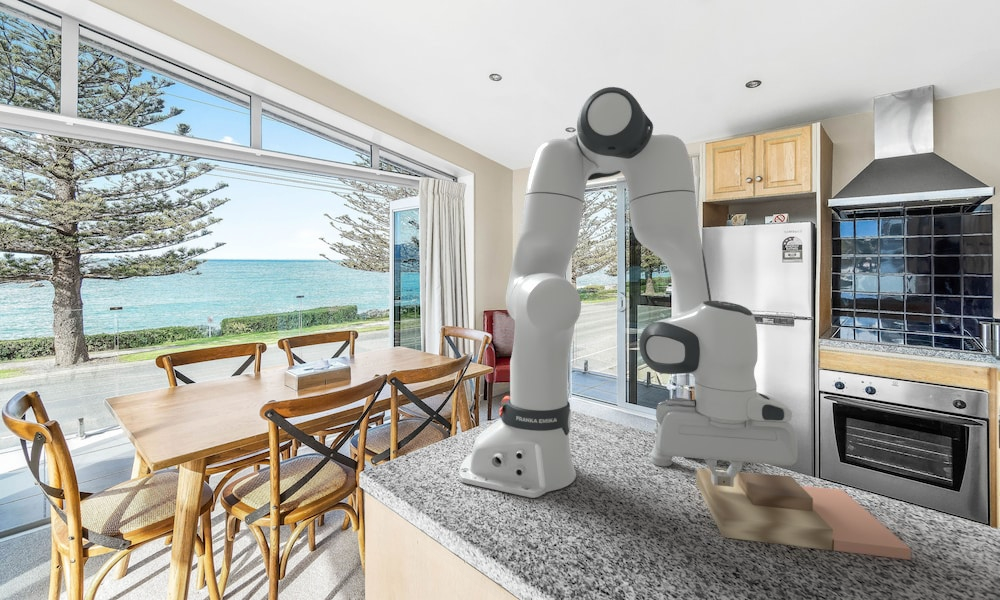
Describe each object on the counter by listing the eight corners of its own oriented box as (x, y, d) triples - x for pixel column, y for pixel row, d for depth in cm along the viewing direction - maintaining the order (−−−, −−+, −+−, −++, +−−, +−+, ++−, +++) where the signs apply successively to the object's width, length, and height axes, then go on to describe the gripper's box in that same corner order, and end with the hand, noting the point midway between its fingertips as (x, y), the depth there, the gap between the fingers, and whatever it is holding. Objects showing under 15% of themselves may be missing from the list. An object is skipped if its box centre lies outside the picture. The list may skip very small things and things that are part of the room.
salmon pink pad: (833, 550, 58) (834, 540, 58) (783, 492, 74) (783, 484, 74) (910, 559, 56) (910, 549, 56) (841, 498, 72) (842, 489, 72)
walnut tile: (753, 505, 64) (753, 492, 64) (738, 483, 71) (738, 471, 71) (812, 511, 63) (812, 498, 63) (790, 488, 70) (791, 476, 69)
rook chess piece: (675, 468, 83) (676, 429, 83) (651, 466, 84) (652, 427, 84) (669, 458, 88) (670, 421, 87) (647, 457, 88) (648, 420, 88)
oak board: (722, 537, 61) (723, 517, 61) (696, 483, 77) (697, 468, 77) (832, 550, 58) (832, 529, 58) (781, 492, 74) (782, 475, 74)
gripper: (659, 403, 67) (658, 487, 68) (804, 411, 62) (800, 501, 63) (653, 392, 73) (652, 469, 74) (785, 399, 69) (782, 481, 69)
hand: (722, 484), depth 69 cm, fingers closed
